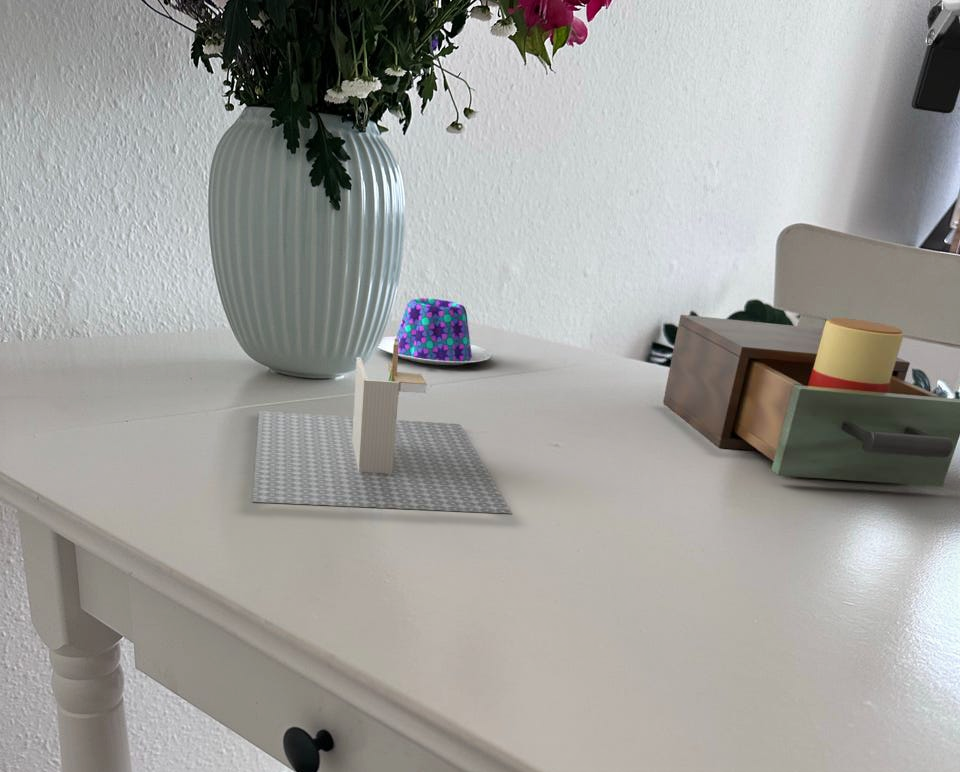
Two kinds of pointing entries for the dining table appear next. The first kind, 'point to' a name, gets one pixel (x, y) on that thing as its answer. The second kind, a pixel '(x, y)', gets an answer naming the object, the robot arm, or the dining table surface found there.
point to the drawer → (846, 427)
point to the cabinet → (730, 368)
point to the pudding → (435, 334)
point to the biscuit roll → (856, 355)
